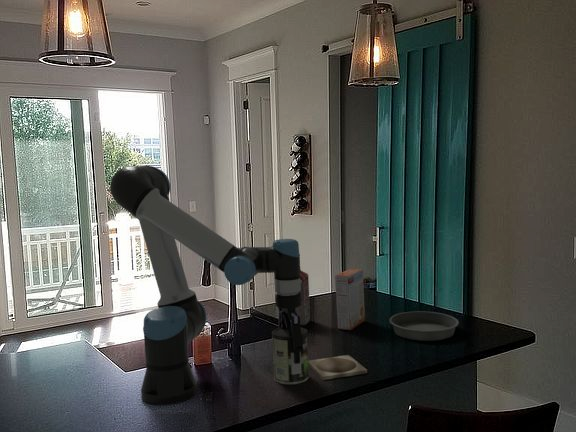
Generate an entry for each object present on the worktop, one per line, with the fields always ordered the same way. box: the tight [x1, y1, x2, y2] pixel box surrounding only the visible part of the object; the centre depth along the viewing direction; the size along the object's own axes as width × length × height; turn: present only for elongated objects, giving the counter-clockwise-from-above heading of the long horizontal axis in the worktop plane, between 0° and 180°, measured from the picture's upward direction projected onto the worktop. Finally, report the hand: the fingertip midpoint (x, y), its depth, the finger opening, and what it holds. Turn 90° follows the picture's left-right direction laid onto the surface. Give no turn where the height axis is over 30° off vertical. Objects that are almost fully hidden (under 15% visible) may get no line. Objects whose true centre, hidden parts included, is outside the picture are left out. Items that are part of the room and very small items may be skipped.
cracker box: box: [334, 268, 366, 331], centre depth 210 cm, size 14×6×21 cm, turn 149°
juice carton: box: [295, 268, 311, 326], centre depth 217 cm, size 7×7×22 cm
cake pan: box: [389, 310, 460, 342], centre depth 200 cm, size 25×25×4 cm
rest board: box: [308, 354, 368, 381], centre depth 167 cm, size 14×14×1 cm
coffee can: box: [271, 326, 310, 386], centre depth 160 cm, size 10×10×14 cm
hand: (291, 367), depth 161 cm, fingers closed on coffee can, 10 cm apart
